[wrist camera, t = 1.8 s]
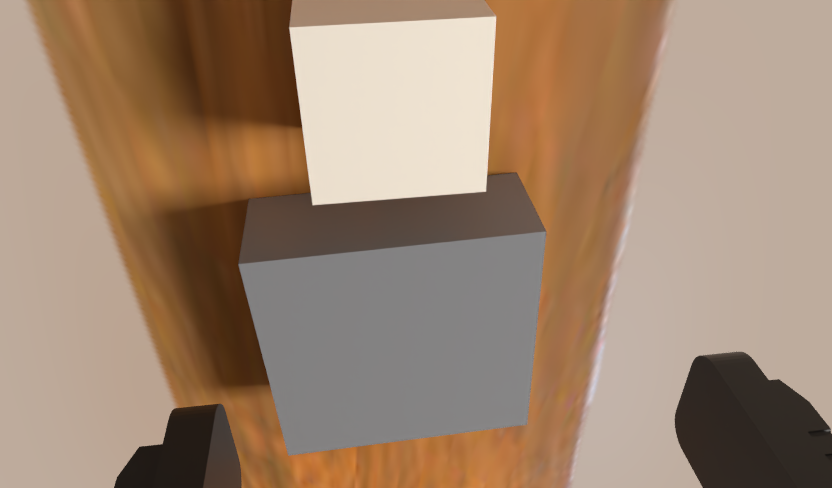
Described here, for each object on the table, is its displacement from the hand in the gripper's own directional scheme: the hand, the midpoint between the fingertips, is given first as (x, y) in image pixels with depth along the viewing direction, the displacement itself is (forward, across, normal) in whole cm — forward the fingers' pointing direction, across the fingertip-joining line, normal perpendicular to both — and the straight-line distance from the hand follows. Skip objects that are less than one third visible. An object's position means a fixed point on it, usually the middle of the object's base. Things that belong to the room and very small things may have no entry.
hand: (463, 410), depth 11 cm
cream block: (+18, 0, 0) cm, 18 cm away
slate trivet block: (+18, 0, +12) cm, 22 cm away
